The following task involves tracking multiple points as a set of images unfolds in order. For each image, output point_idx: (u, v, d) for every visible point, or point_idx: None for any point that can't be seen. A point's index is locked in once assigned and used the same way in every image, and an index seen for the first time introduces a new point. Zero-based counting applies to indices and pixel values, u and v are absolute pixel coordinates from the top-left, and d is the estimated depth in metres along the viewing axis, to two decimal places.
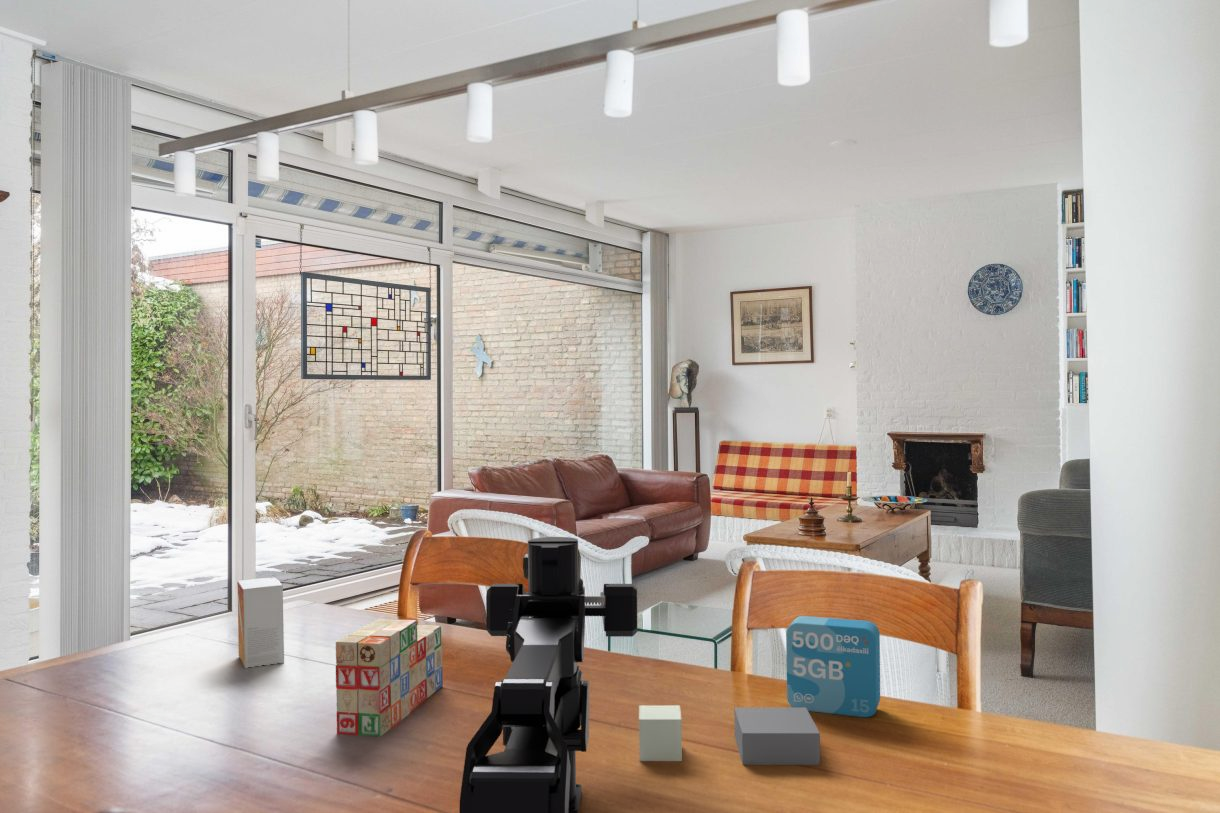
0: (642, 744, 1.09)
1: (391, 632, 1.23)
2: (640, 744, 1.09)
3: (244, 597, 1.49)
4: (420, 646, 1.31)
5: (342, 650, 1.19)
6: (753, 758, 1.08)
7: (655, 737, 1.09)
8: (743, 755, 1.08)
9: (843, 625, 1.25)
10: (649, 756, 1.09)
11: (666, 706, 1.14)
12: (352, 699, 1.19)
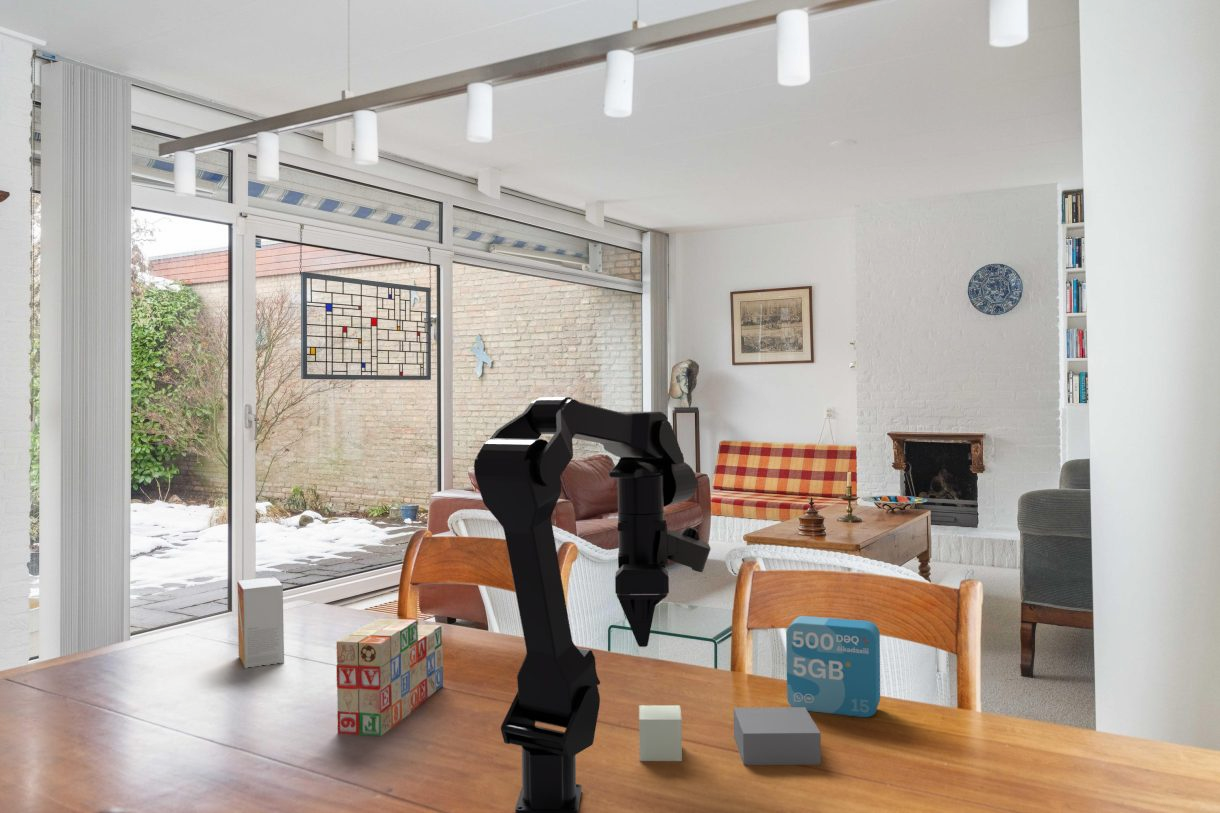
0: (642, 744, 1.09)
1: (392, 632, 1.23)
2: (640, 744, 1.09)
3: (244, 597, 1.49)
4: (420, 646, 1.31)
5: (343, 650, 1.19)
6: (754, 758, 1.08)
7: (656, 737, 1.09)
8: (744, 755, 1.08)
9: (843, 625, 1.25)
10: (649, 756, 1.09)
11: (666, 706, 1.14)
12: (352, 699, 1.19)
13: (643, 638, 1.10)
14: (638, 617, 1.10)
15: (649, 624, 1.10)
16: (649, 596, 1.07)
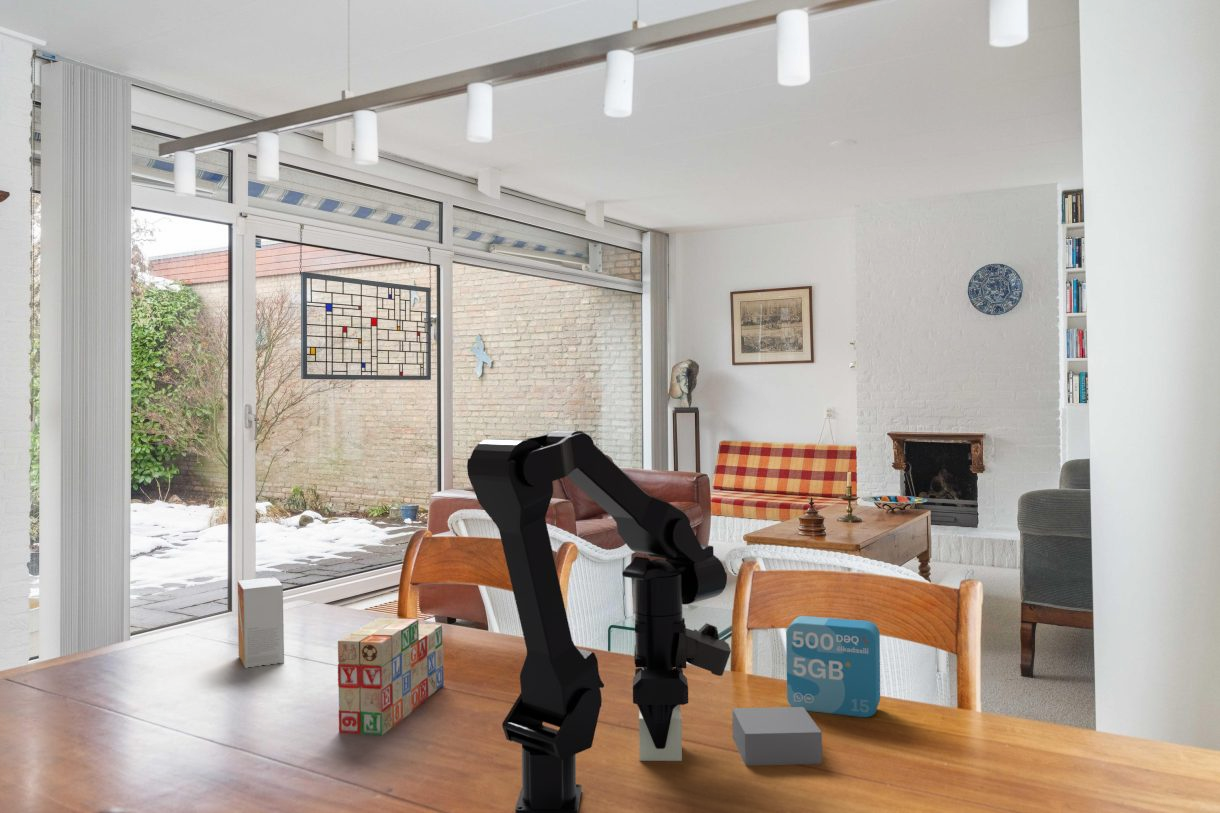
0: (642, 743, 1.09)
1: (393, 631, 1.23)
2: (640, 743, 1.09)
3: (244, 597, 1.49)
4: (421, 645, 1.32)
5: (344, 649, 1.20)
6: (756, 758, 1.08)
7: None
8: (746, 756, 1.08)
9: (843, 625, 1.25)
10: (649, 755, 1.09)
11: None
12: (354, 698, 1.19)
13: (661, 740, 1.08)
14: (655, 719, 1.08)
15: (667, 726, 1.08)
16: None
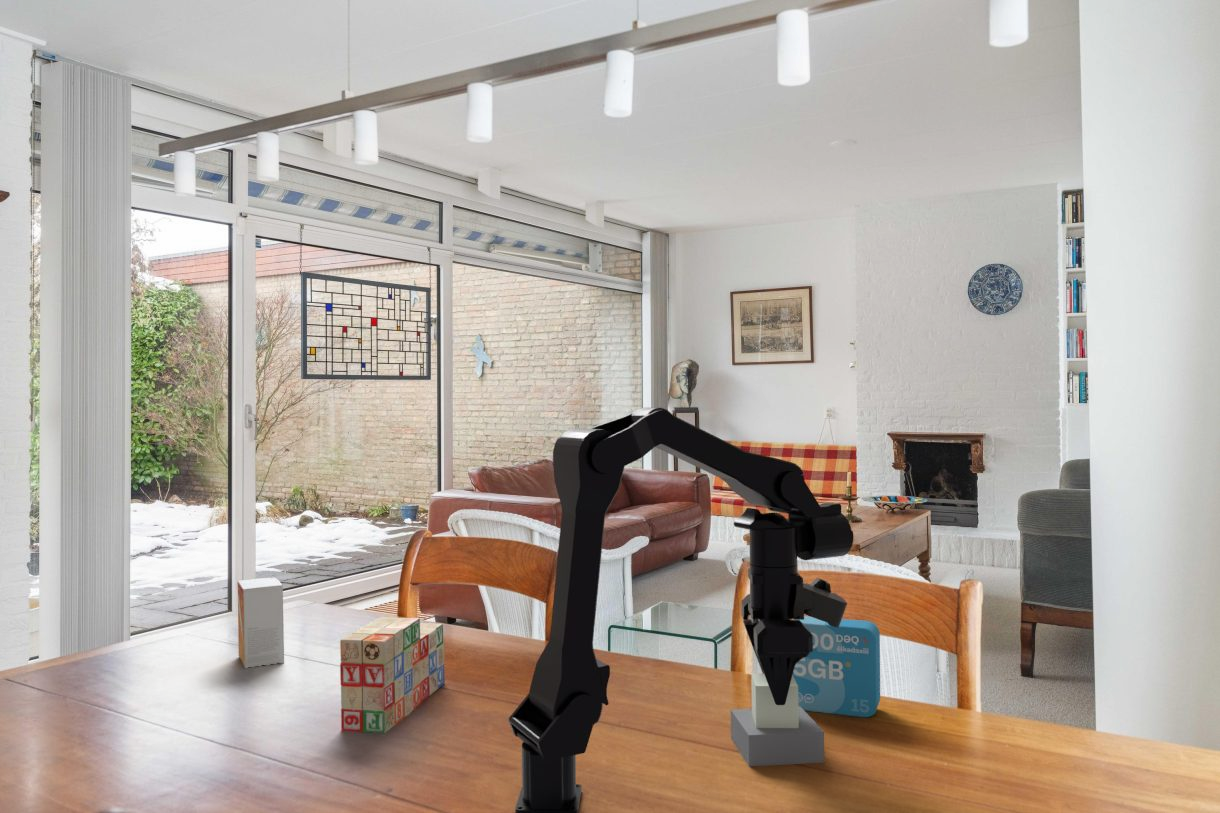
0: (758, 710, 1.10)
1: (395, 630, 1.24)
2: (757, 710, 1.10)
3: (244, 597, 1.49)
4: (423, 644, 1.32)
5: (347, 648, 1.20)
6: (760, 759, 1.07)
7: (772, 704, 1.09)
8: (749, 757, 1.07)
9: (843, 625, 1.25)
10: (766, 722, 1.09)
11: None
12: (356, 697, 1.20)
13: (781, 696, 1.07)
14: (776, 674, 1.06)
15: (788, 682, 1.07)
16: (791, 654, 1.04)
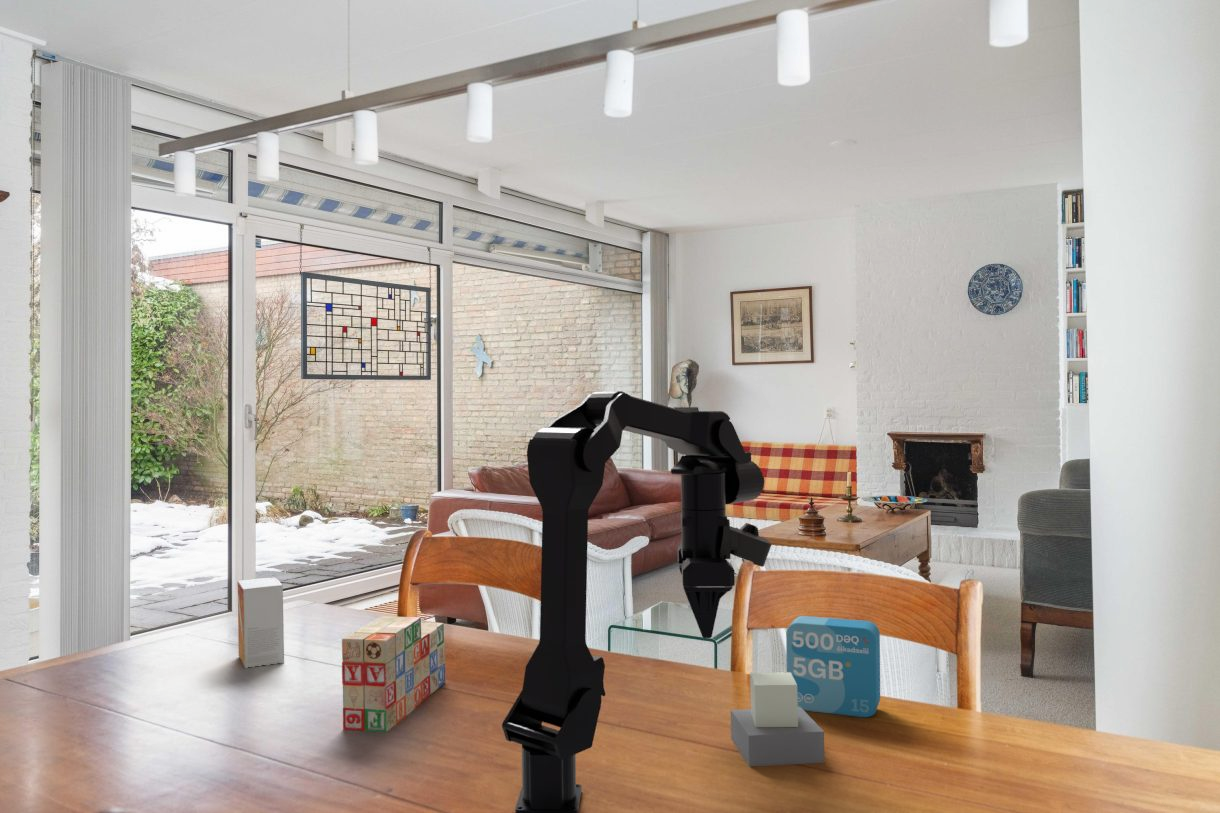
0: (758, 709, 1.10)
1: (396, 629, 1.25)
2: (756, 710, 1.10)
3: (244, 597, 1.49)
4: (424, 643, 1.33)
5: (348, 647, 1.21)
6: (760, 760, 1.07)
7: (771, 703, 1.10)
8: (749, 757, 1.07)
9: (843, 625, 1.25)
10: (765, 722, 1.10)
11: (778, 673, 1.14)
12: (358, 695, 1.20)
13: (708, 630, 1.14)
14: (703, 609, 1.14)
15: (713, 616, 1.14)
16: (715, 588, 1.11)
